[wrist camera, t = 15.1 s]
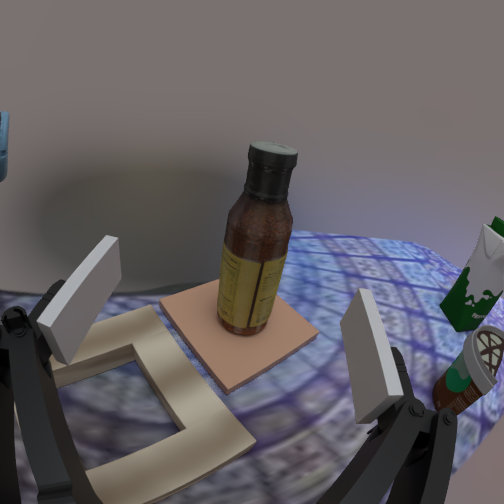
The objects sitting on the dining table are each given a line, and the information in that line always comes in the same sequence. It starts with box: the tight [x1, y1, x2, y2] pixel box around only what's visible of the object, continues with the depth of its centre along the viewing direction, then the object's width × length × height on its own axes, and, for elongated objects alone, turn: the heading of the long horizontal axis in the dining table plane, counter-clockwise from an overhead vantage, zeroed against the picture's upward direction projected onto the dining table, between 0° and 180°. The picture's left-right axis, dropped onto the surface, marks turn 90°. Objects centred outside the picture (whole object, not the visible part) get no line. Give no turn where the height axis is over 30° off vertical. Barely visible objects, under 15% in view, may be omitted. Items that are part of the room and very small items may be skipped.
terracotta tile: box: [159, 279, 319, 395], centre depth 33 cm, size 14×14×1 cm
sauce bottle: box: [217, 141, 298, 335], centre depth 28 cm, size 7×6×20 cm
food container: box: [433, 325, 504, 416], centre depth 25 cm, size 12×6×10 cm, turn 122°
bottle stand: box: [14, 305, 256, 504], centre depth 19 cm, size 18×18×3 cm
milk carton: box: [439, 216, 504, 332], centre depth 37 cm, size 9×9×20 cm
